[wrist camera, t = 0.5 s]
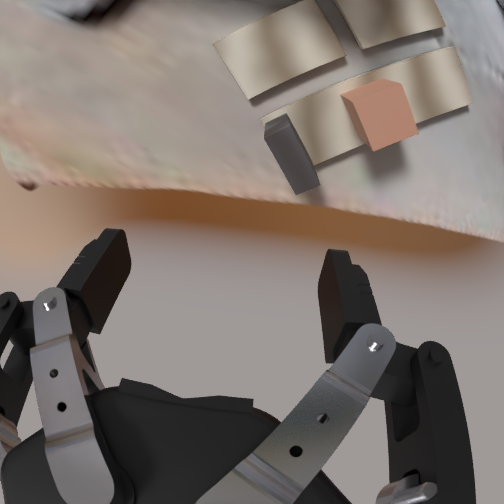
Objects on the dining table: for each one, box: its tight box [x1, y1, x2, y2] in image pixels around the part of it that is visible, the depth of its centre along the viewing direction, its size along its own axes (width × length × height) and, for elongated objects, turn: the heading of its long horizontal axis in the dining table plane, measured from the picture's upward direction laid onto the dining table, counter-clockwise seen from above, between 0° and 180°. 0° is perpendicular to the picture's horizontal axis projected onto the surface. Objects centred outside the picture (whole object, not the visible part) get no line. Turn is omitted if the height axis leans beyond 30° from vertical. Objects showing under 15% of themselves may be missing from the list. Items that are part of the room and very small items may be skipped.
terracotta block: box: [340, 78, 419, 152], centre depth 24 cm, size 5×5×5 cm
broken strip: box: [213, 0, 446, 99], centre depth 22 cm, size 24×7×1 cm, turn 120°
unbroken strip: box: [260, 47, 472, 195], centre depth 24 cm, size 24×7×7 cm, turn 120°
